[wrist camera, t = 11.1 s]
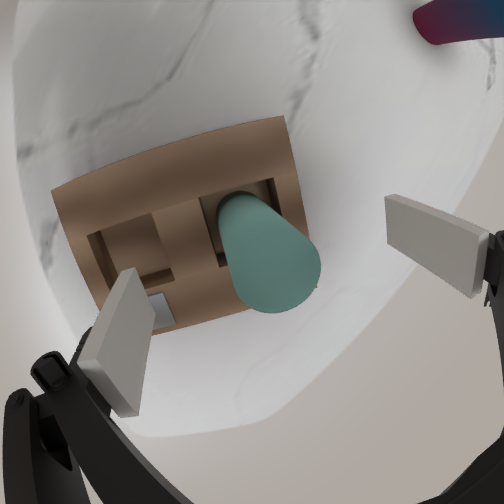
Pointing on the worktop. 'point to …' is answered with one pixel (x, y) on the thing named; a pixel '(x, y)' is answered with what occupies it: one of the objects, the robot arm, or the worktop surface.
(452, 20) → the cup
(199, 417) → the worktop surface
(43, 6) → the worktop surface
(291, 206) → the socket board
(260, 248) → the plug
